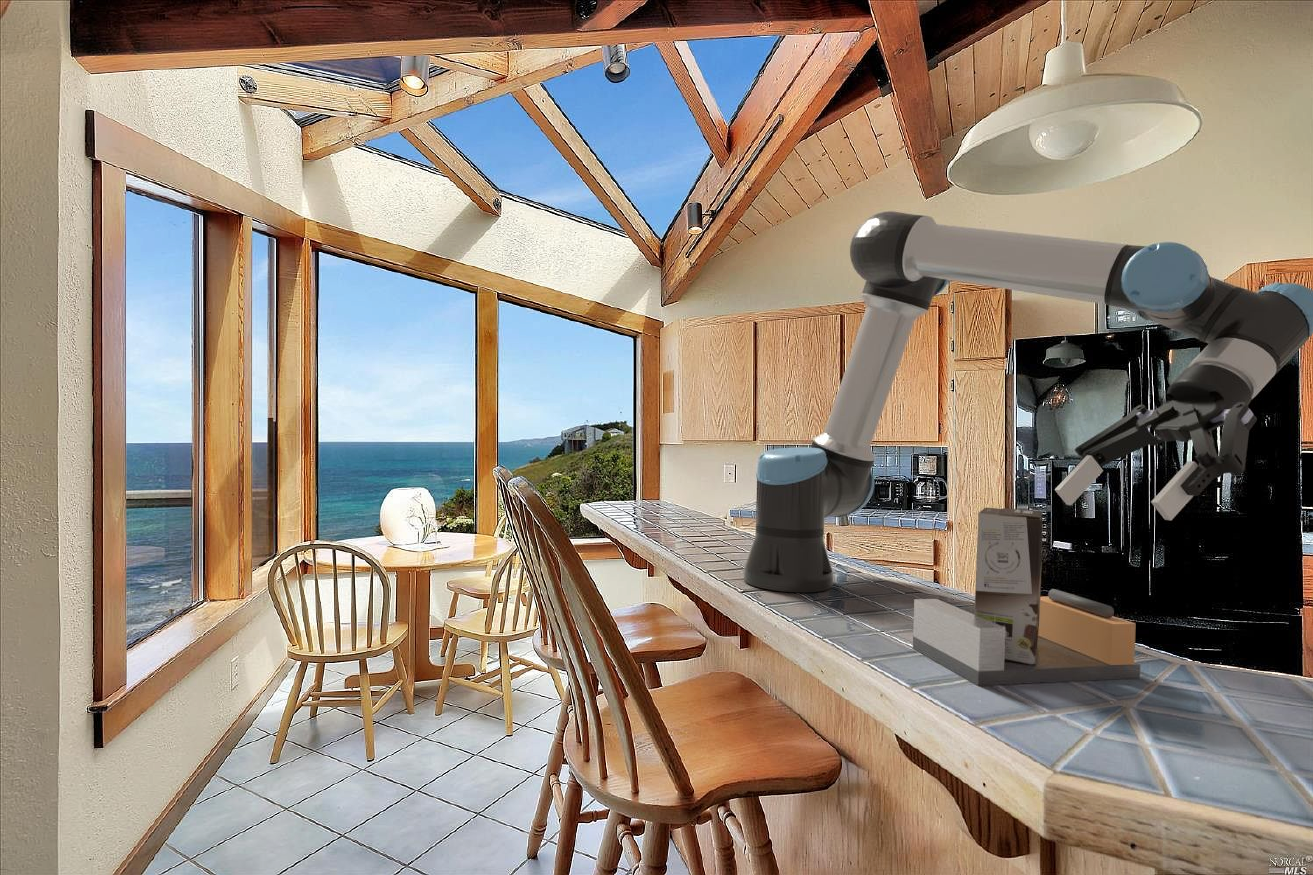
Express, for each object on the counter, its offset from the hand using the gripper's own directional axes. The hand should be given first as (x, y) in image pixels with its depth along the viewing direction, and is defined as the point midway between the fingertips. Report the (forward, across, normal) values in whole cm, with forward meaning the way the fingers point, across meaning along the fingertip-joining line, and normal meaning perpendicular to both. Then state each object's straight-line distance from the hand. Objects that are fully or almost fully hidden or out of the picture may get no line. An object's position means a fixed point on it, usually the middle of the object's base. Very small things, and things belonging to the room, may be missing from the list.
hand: (1107, 504), depth 79 cm
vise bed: (+21, 0, -5) cm, 22 cm away
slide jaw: (+14, 0, -10) cm, 17 cm away
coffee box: (+21, 0, -3) cm, 22 cm away
